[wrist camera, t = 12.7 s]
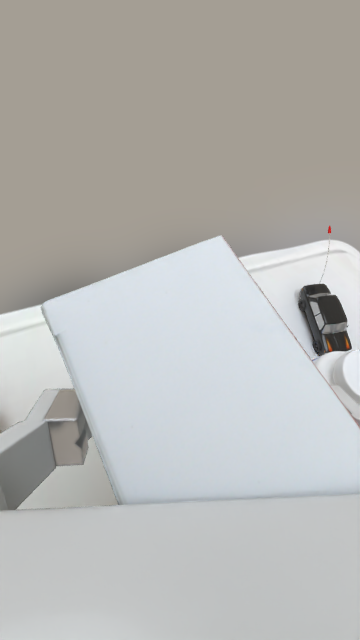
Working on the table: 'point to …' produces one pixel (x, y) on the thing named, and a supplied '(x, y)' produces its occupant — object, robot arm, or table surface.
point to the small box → (201, 386)
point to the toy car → (325, 317)
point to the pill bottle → (342, 371)
